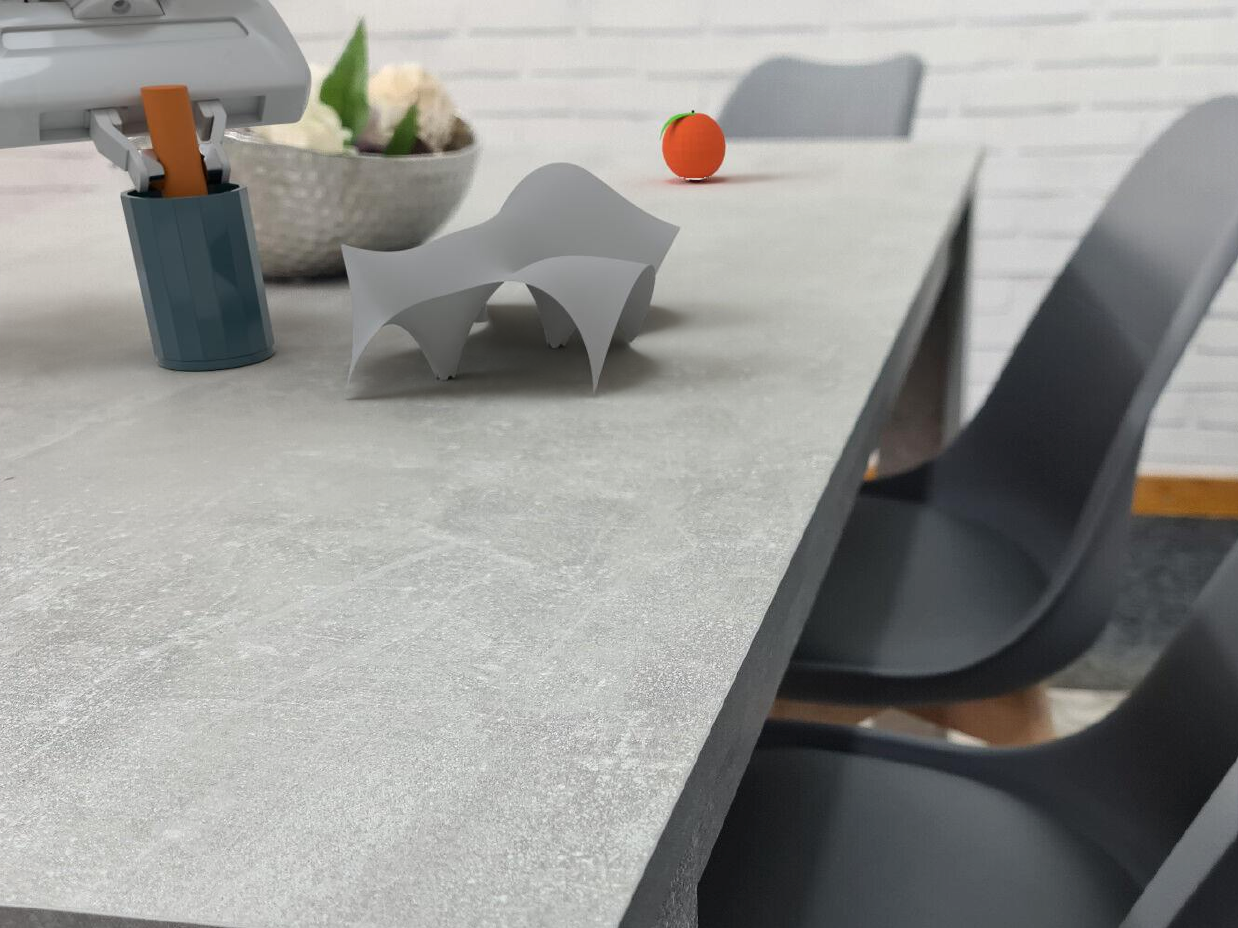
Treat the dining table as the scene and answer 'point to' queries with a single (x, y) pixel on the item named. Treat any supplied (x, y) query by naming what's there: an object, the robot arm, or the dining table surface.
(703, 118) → the clementine
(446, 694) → the dining table surface
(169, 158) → the cylinder
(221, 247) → the can
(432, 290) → the sculpture
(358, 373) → the dining table surface
